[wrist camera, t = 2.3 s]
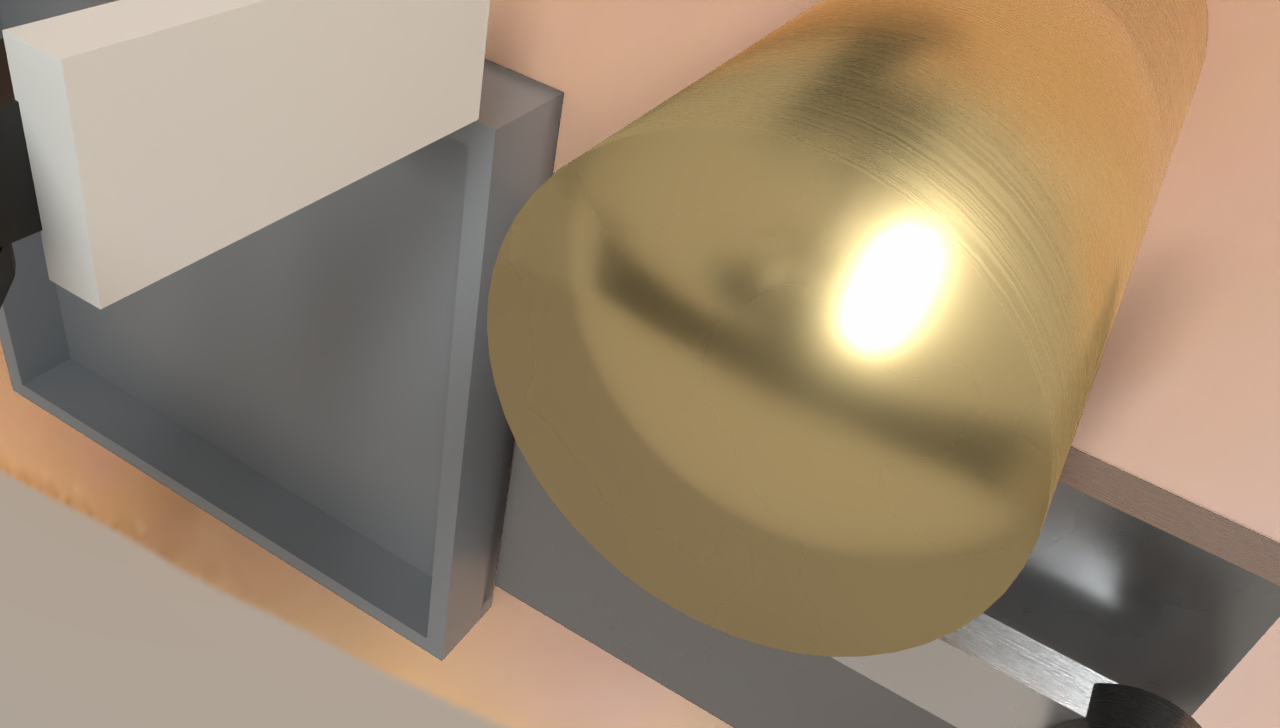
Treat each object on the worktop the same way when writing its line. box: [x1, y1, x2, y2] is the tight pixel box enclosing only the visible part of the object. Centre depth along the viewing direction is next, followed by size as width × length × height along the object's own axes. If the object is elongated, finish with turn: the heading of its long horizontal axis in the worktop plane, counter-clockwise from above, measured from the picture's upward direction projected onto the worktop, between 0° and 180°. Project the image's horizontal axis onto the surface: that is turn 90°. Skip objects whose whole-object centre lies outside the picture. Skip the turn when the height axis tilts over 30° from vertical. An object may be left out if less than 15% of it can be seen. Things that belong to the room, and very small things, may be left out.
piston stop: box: [487, 0, 1208, 657], centre depth 13 cm, size 5×5×12 cm
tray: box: [0, 0, 564, 661], centre depth 30 cm, size 18×19×2 cm
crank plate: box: [495, 442, 1280, 728], centre depth 25 cm, size 12×16×1 cm
